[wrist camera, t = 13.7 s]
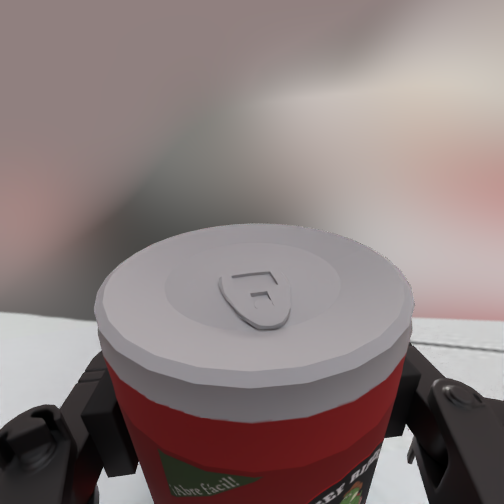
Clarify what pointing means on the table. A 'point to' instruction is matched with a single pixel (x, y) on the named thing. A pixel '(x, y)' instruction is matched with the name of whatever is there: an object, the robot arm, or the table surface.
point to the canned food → (256, 362)
